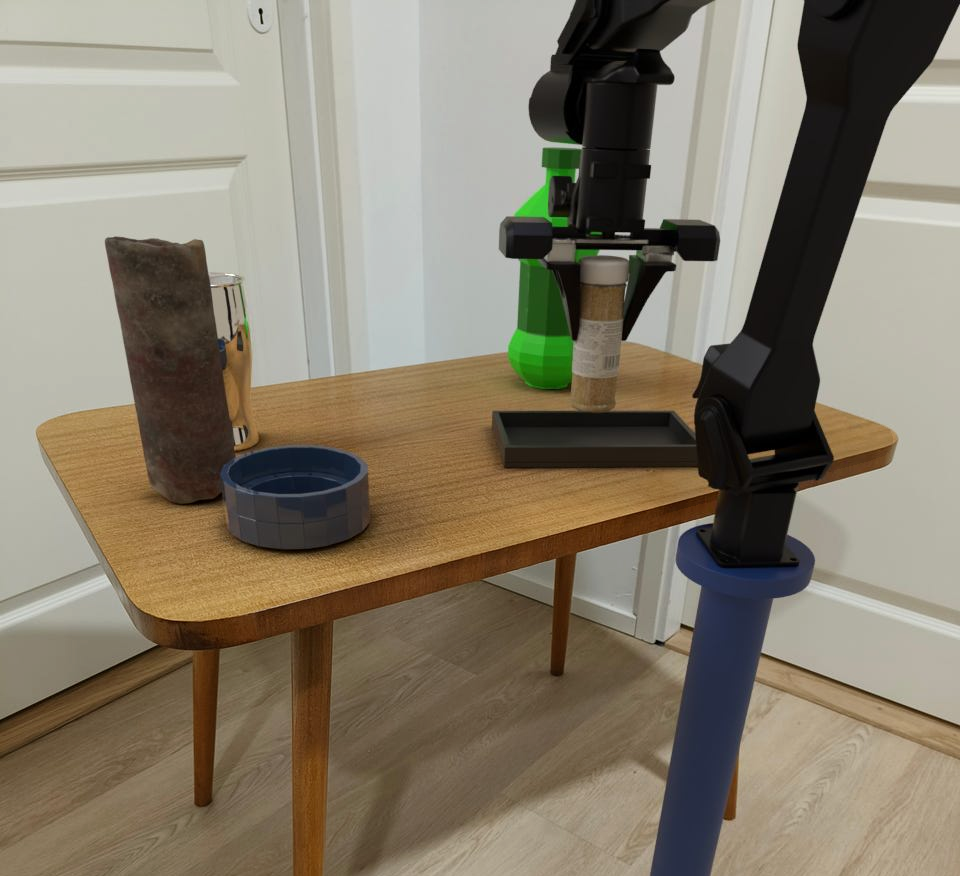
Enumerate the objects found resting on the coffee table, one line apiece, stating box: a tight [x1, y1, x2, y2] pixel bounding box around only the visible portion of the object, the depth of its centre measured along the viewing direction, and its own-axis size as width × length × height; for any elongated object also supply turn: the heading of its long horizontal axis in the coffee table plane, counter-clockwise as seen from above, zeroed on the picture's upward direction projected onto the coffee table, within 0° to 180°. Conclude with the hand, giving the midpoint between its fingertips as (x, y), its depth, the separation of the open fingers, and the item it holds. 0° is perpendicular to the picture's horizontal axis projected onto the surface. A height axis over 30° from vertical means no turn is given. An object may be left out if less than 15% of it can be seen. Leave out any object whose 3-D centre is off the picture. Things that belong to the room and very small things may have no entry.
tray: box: [491, 410, 698, 469], centre depth 88 cm, size 11×19×2 cm, turn 95°
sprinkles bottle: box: [568, 254, 629, 413], centre depth 83 cm, size 5×5×13 cm
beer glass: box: [208, 271, 260, 452], centre depth 83 cm, size 7×7×15 cm
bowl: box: [220, 444, 371, 550], centre depth 70 cm, size 11×11×4 cm
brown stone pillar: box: [104, 235, 236, 505], centre depth 72 cm, size 8×7×20 cm
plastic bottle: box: [507, 146, 601, 390], centre depth 102 cm, size 10×10×25 cm
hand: (598, 339), depth 83 cm, fingers closed on sprinkles bottle, 4 cm apart
